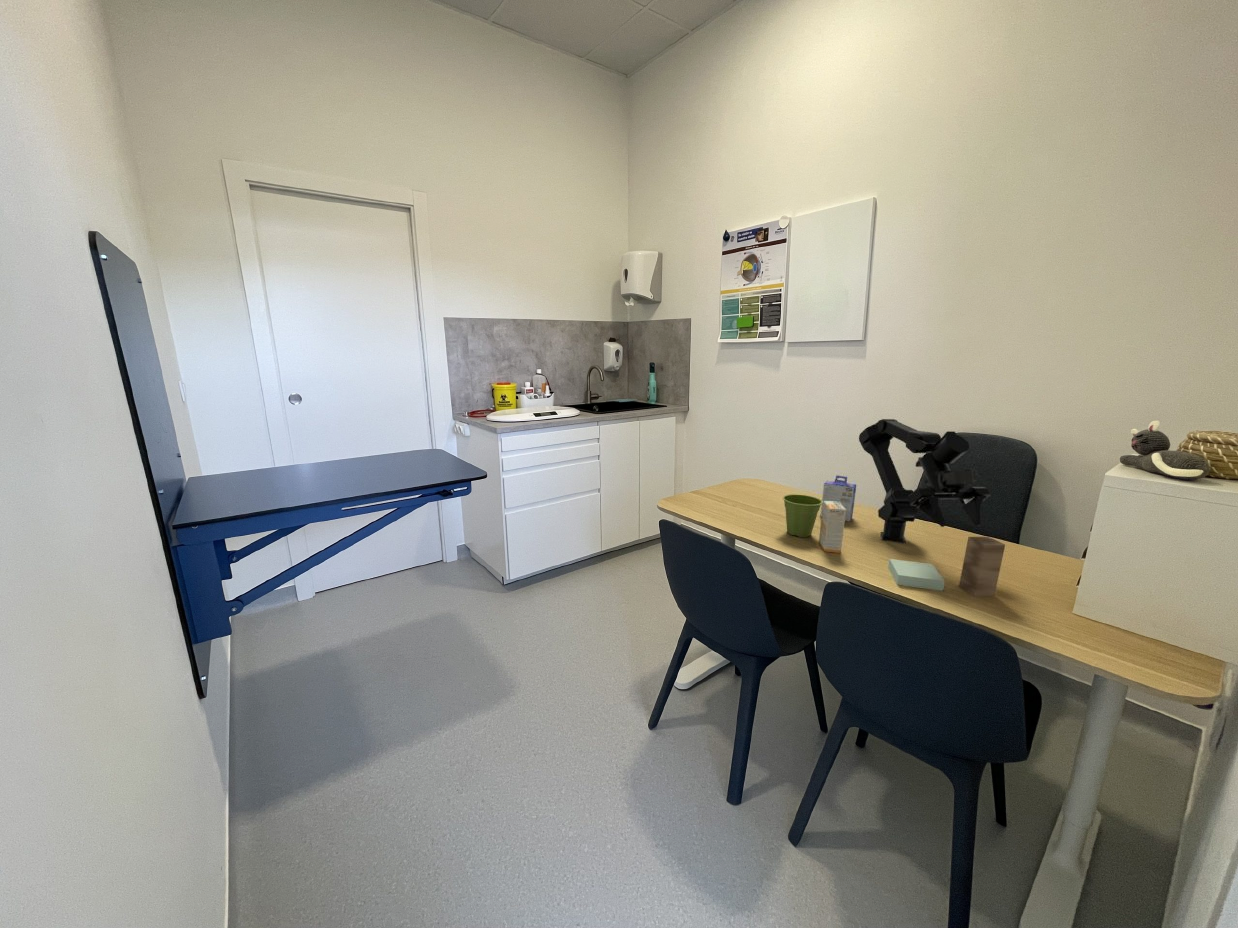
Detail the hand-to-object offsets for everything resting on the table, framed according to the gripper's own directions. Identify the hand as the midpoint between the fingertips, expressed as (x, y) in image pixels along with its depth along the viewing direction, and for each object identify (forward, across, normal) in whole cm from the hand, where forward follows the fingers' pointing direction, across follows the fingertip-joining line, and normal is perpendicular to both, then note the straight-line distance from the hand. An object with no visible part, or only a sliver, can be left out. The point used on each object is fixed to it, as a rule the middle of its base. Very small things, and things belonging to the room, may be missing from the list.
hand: (961, 526), depth 123 cm
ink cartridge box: (-22, -8, +42) cm, 48 cm away
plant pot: (-12, -28, +31) cm, 43 cm away
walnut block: (+15, 0, +4) cm, 16 cm away
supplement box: (-4, -23, +23) cm, 33 cm away
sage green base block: (+11, -11, +9) cm, 18 cm away
